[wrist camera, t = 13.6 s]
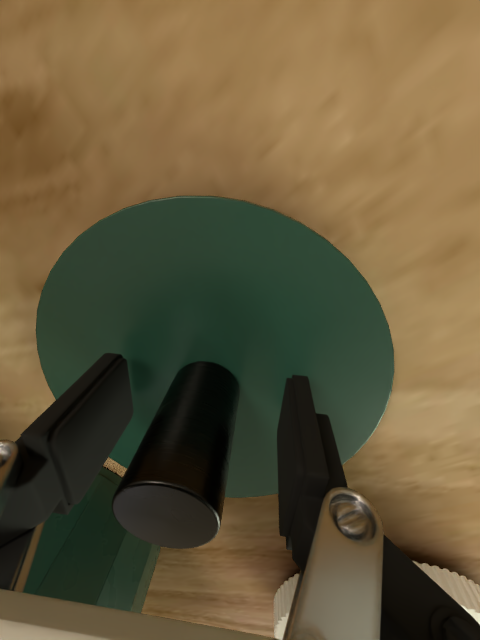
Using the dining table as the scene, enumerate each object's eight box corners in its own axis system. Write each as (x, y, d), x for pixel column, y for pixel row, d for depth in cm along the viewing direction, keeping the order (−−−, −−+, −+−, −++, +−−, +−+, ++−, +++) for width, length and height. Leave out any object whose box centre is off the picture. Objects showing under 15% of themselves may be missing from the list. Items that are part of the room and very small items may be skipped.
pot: (-63, 432, 16) (-358, 645, 9) (155, 463, 15) (43, 728, 8) (6, 550, 22) (-133, 738, 14) (167, 577, 21) (109, 792, 14)
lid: (15, 179, 10) (-345, 160, 4) (440, 213, 9) (752, 248, 3) (87, 457, 16) (-12, 600, 10) (337, 492, 15) (378, 670, 9)
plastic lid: (485, 634, 20) (512, 691, 18) (302, 635, 23) (305, 683, 21) (481, 527, 15) (519, 587, 13) (247, 547, 18) (243, 597, 16)
